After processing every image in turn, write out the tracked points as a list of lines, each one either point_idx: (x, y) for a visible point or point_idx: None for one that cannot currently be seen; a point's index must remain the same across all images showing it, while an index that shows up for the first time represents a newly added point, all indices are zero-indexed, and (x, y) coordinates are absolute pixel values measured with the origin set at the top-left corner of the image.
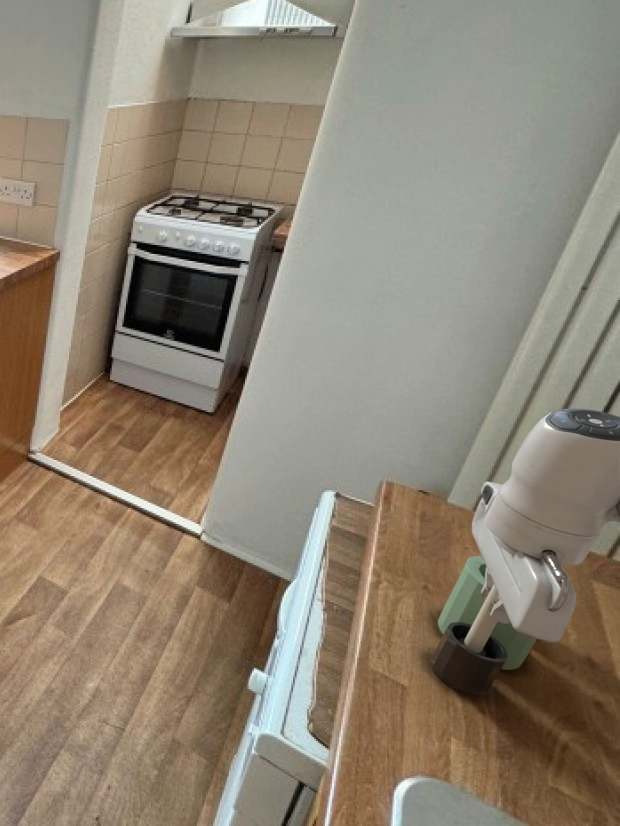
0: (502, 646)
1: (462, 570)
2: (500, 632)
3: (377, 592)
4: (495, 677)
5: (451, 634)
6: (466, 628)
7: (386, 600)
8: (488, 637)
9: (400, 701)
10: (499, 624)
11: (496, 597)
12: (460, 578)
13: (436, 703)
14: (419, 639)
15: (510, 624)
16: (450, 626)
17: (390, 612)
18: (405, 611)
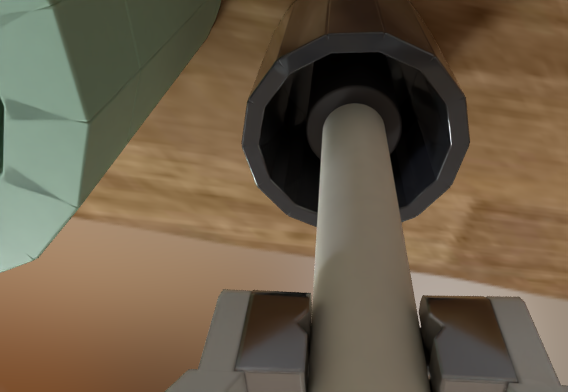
0: (324, 45)
1: None
2: (179, 9)
3: (103, 216)
4: (420, 23)
5: None
6: (266, 152)
7: (121, 199)
8: (379, 158)
9: (543, 219)
10: (167, 42)
11: None
12: None
13: (509, 138)
14: (240, 140)
15: (151, 7)
16: (316, 222)
17: (171, 196)
18: (130, 159)
